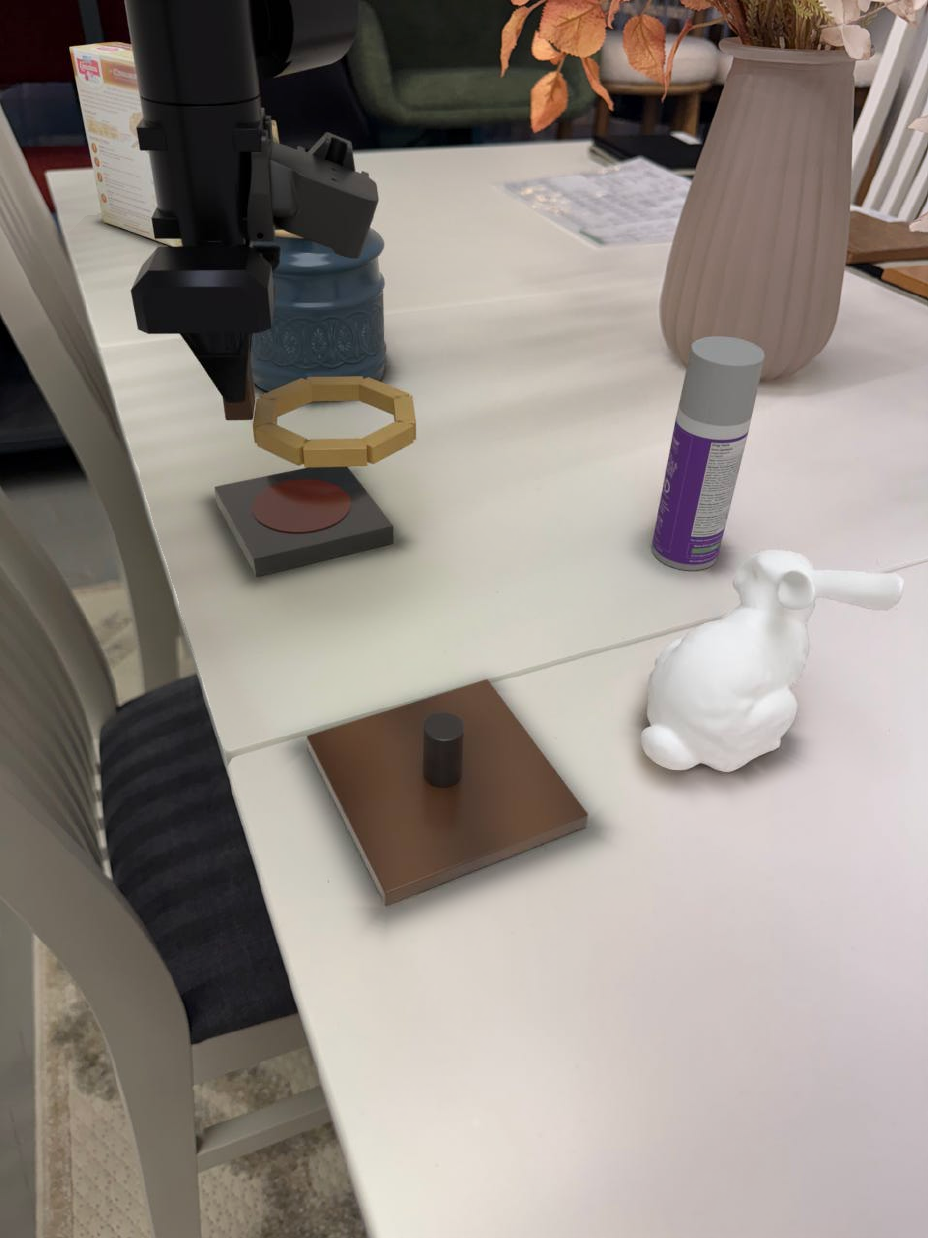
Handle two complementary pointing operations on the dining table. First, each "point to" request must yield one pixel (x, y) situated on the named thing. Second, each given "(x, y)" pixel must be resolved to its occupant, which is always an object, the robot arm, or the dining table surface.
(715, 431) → the container
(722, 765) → the rabbit
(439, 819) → the brown peg base
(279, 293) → the canister
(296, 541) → the stove
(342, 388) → the ring
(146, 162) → the coffeecake box
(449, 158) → the dining table surface
